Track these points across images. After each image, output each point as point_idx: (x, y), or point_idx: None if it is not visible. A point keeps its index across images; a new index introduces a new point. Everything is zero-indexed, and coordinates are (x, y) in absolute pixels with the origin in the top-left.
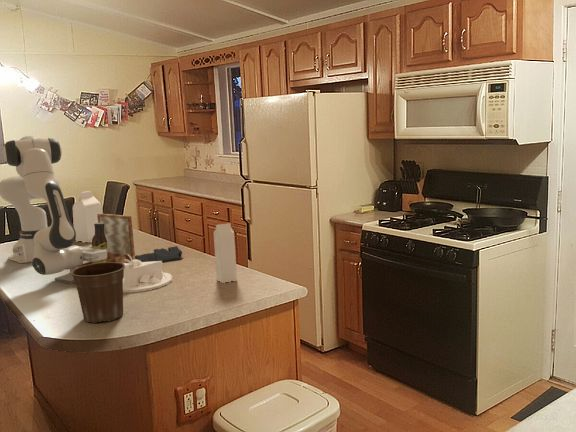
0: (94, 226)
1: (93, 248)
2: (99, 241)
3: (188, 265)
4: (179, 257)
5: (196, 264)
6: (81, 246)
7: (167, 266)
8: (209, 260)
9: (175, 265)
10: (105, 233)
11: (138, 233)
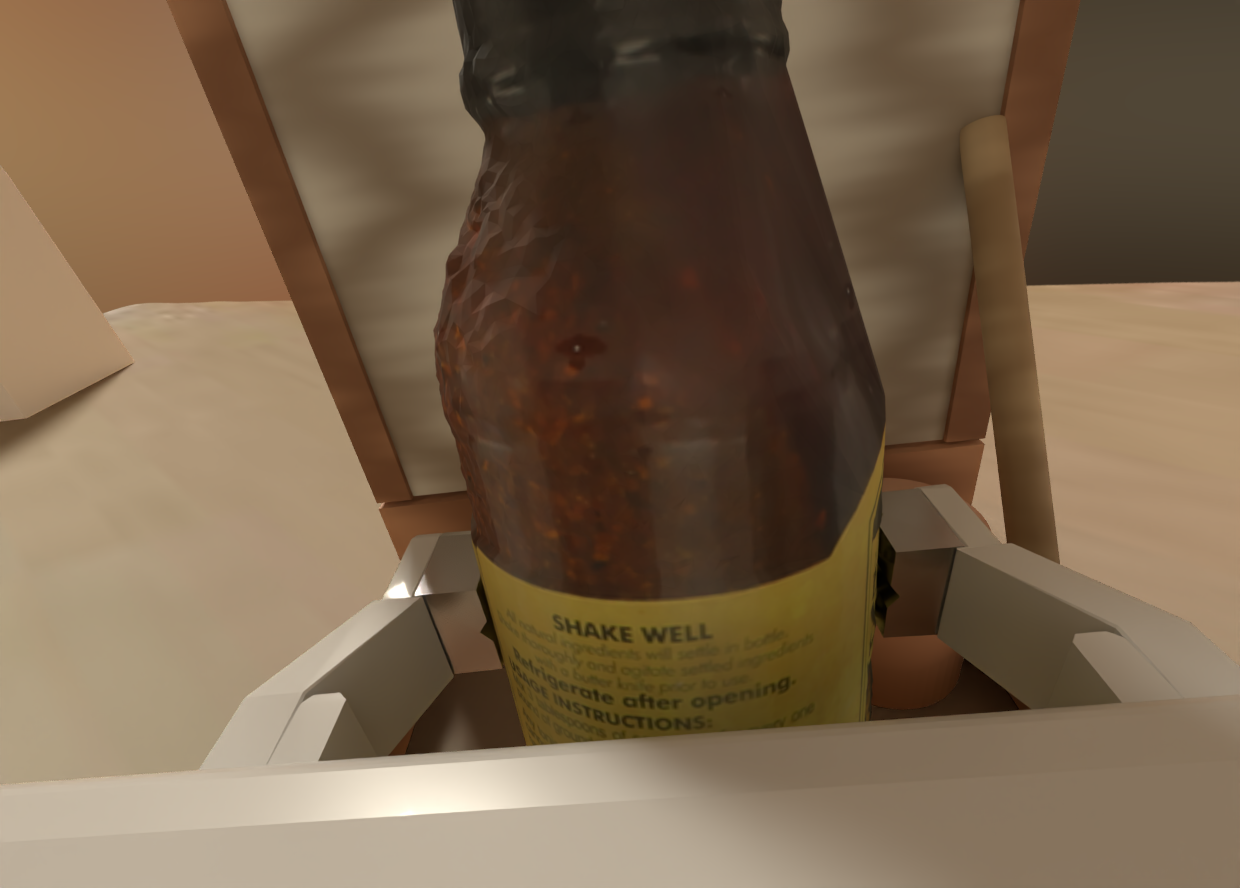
0: (17, 307)
1: (1041, 803)
2: (835, 367)
3: (1226, 365)
4: None
5: (1224, 342)
6: (101, 811)
7: (1150, 426)
8: (1136, 301)
9: (1153, 396)
10: (412, 228)
11: (283, 305)
